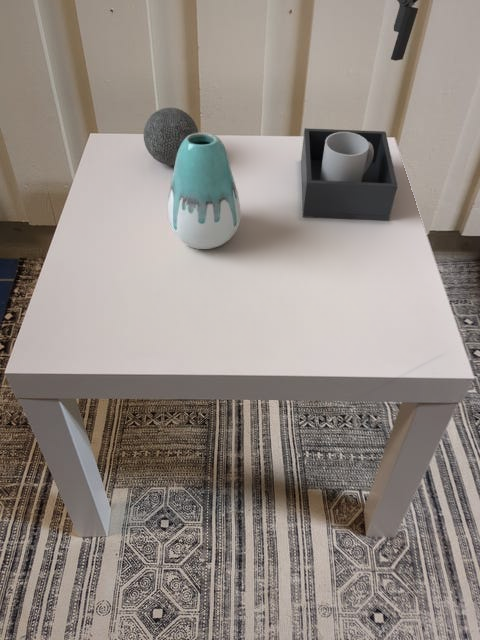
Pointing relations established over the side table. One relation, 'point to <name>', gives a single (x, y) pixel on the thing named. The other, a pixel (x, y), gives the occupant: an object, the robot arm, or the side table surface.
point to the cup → (346, 157)
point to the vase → (203, 193)
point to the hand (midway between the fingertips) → (441, 73)
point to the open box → (347, 197)
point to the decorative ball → (167, 133)
